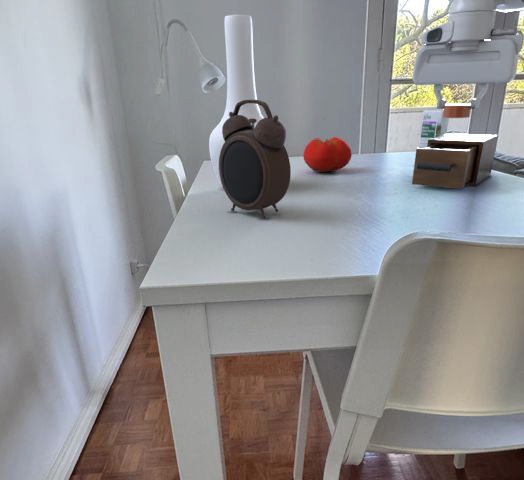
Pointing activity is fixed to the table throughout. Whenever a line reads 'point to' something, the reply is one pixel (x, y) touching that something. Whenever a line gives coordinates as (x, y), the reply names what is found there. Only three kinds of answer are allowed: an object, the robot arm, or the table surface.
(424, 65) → the robot arm
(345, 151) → the tomato
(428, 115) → the syrup box
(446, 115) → the brown round bowl
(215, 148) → the vase
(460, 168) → the drawer
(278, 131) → the alarm clock
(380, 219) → the table surface
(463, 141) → the cabinet
